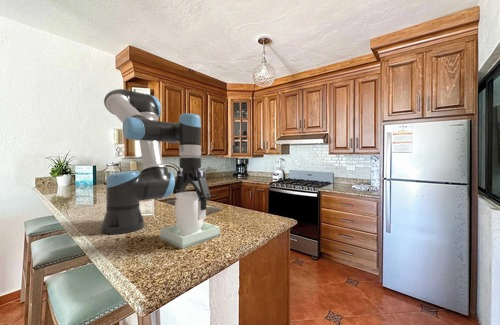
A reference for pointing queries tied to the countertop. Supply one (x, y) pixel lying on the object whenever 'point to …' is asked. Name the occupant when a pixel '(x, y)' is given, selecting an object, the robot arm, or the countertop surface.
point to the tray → (183, 242)
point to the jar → (187, 213)
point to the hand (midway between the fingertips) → (190, 216)
